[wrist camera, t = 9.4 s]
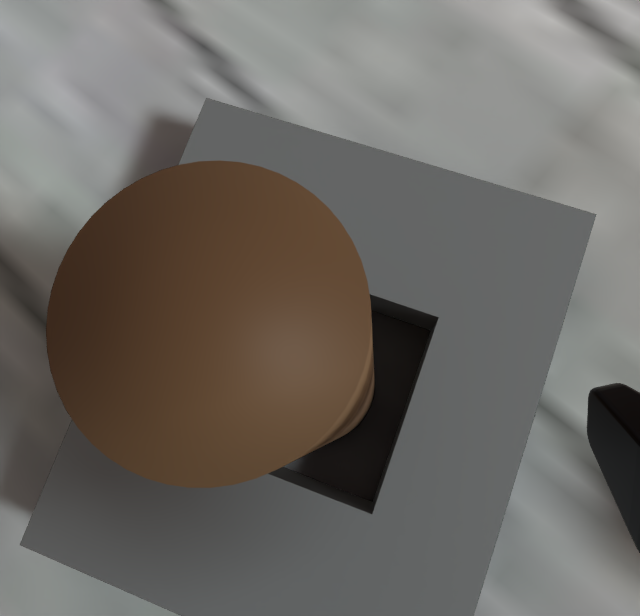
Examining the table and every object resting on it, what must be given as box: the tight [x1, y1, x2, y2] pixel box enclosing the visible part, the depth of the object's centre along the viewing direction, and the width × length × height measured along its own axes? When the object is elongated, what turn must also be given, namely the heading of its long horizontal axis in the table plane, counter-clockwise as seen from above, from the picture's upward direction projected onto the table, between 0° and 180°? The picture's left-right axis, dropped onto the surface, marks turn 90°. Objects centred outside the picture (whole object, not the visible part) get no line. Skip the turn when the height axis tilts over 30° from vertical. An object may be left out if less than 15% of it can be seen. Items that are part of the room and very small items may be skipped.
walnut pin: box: [46, 160, 375, 488], centre depth 13 cm, size 4×4×13 cm
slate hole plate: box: [20, 98, 596, 616], centre depth 18 cm, size 14×12×2 cm
